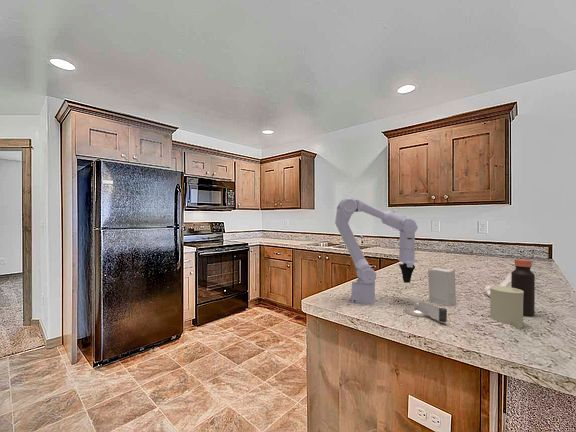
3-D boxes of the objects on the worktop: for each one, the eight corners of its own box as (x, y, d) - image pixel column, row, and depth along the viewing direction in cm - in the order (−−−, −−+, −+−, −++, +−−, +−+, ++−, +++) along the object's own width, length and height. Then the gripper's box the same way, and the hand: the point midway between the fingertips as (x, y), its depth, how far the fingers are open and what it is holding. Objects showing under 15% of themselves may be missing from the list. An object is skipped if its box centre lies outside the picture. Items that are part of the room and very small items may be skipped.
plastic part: (484, 294, 133) (484, 270, 133) (509, 296, 131) (509, 271, 131) (490, 299, 126) (490, 272, 126) (517, 301, 123) (517, 274, 123)
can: (526, 330, 91) (526, 292, 91) (490, 324, 95) (490, 288, 96) (521, 321, 98) (521, 286, 98) (488, 316, 103) (488, 283, 103)
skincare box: (456, 307, 114) (456, 270, 114) (448, 310, 110) (448, 271, 110) (435, 302, 120) (436, 266, 121) (427, 304, 117) (428, 268, 117)
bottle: (512, 309, 112) (512, 258, 112) (535, 313, 107) (535, 260, 107) (509, 313, 107) (510, 260, 107) (533, 318, 102) (533, 262, 102)
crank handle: (399, 309, 106) (399, 297, 106) (418, 307, 108) (419, 295, 108) (434, 326, 90) (434, 311, 90) (456, 323, 92) (456, 308, 92)
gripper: (421, 251, 107) (421, 287, 107) (414, 247, 121) (413, 279, 121) (401, 250, 109) (401, 286, 109) (396, 246, 123) (396, 278, 123)
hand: (406, 282), depth 115 cm, fingers closed
